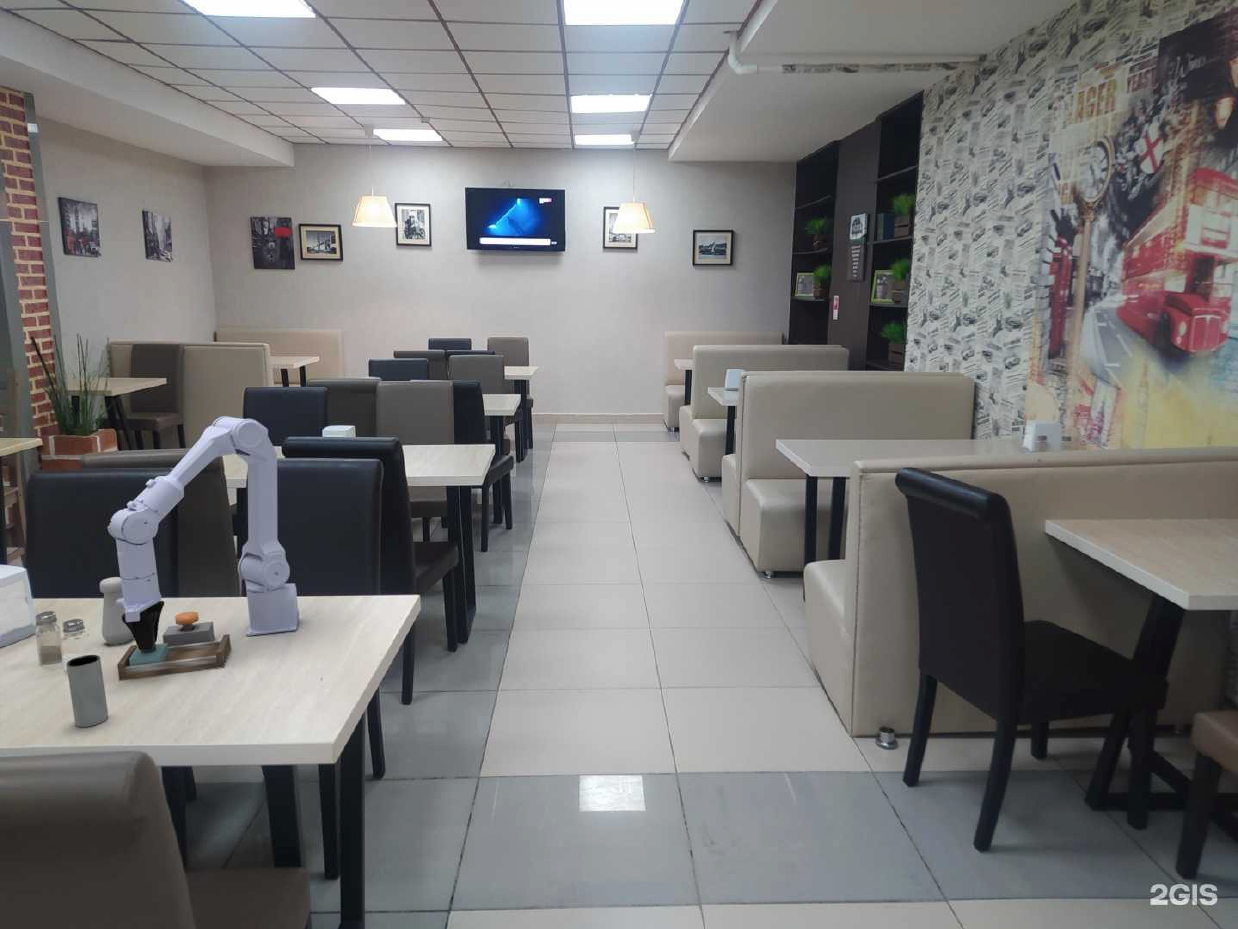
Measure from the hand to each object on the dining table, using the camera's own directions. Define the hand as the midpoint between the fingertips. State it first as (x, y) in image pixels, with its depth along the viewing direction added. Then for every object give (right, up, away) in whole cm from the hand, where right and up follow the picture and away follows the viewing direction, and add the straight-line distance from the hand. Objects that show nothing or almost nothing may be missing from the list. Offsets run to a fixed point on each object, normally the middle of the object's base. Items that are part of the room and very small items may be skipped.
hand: (148, 645), depth 153 cm
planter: (+2, -8, -19) cm, 21 cm away
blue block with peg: (0, -3, +1) cm, 3 cm away
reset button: (+2, 0, +10) cm, 11 cm away
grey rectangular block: (+2, -2, +11) cm, 11 cm away
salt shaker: (-13, -2, +13) cm, 19 cm away
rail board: (+4, -4, +2) cm, 6 cm away
